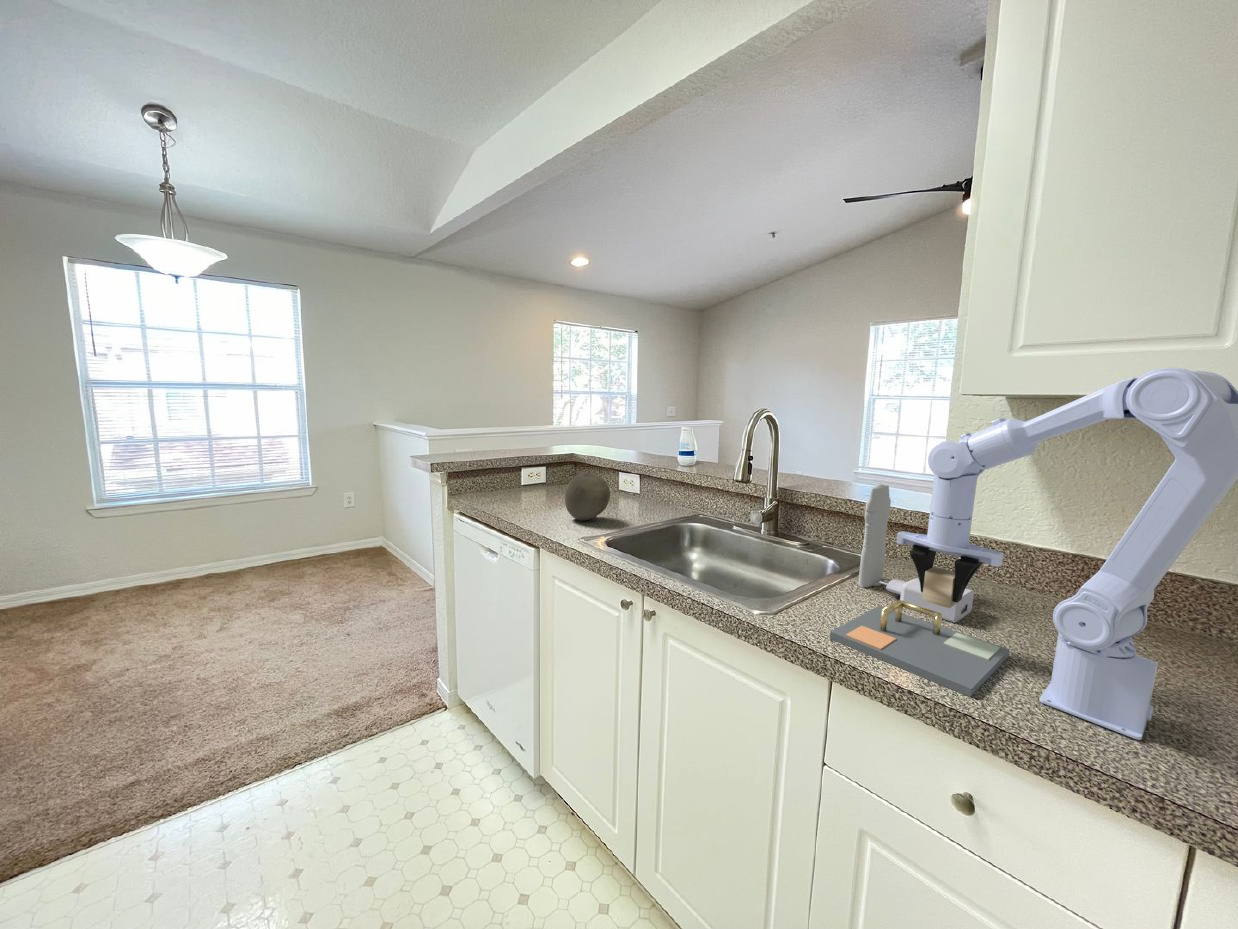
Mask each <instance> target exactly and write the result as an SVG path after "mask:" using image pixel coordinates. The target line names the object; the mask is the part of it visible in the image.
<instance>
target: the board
mask: <svg viewBox="0 0 1238 929" xmlns="http://www.w3.org/2000/svg"><path fill="white" fill-rule="evenodd" d="M884 608H886V607H884V606H882V605H877V606H876V607H874V608H873V609H870V610H868V611H866V612H865V613H862V614H861V615H859V616H857V617H856V618H853V619H852V620H850V621H848V622H846V623H844V624H842V625H841V626H839V627H837V628H835V629H833V630H831V631H830V632H829V640H832V641H835V642H837V643H840V644H842V645H844V646H847V647H849V648H851V649H853V650H857V651H859V652H862V653H864V654H866V655H868V656H870V657H873V658H874V659H878V660H881V661H883V662H886V663H887V664H890V665H891V666H894V667H897V668H899V669H902V670H903V671H904V670H905V671H907V672H909V673H911V674H914V675H917V676H919V677H920V678H923V679H926V680H928V681H931V682H934V683H935V684H938V685H940V686H943V687H945V688H948V689H950V690H952V691H955V692H957V693H960V694H962V695H964V696H967V697H969V698H971V697H972V696H973V695H974V694H975V693H976V692H977V691H978V690H979V689H980V688H981V687H982V685H983V684H984V683H985V682H986V681H987V680H988V679H990V677H991V676H992V675H993V674H994V672H996V671H997V669H998V668H1000V666H1002V664H1003V663H1005V661H1006V660H1007V659H1008V658H1009V657H1010V648H1008V647H1007V648H1006V647H1004V646H1002V645H998V644H996V643H995V644H994V643H993V642H990V641H986V640H984V639H980V638H977V637H975V636H971V635H968V634H965V633H963V632H960V631H957V630H953V629H950V628H948V627H944V626H942V625H941V629H940V635H939V636H937V635H934V634H933V627H934V622H933V623H932V622H930V621H926V620H923V619H922V618H921V619H920V618H917V617H915V616H911V615H908V614H906V613H903V612H902V621H901V622H897V621H895V615H896V610H894V611H892V612H890V613H888V620H887V629H886V631H885V632H884V631H881V630H880V621H881V612H882V609H884Z"/></svg>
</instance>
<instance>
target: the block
mask: <svg viewBox="0 0 1238 929" xmlns="http://www.w3.org/2000/svg"><path fill="white" fill-rule="evenodd" d="M954 584H955V570H954V571H953V570H950V569H946V568H942V567H938V566H933V568H931V569H929V570H927V571H925V578H924V587H923V595H922V600H923V601H927V602H930V603H933V604H936V605H940V606H943V607H946V608H951V607H952V606H954V605H955V604H957V602H953V601H952V596H953V589H954Z"/></svg>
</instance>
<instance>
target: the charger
mask: <svg viewBox="0 0 1238 929" xmlns="http://www.w3.org/2000/svg"><path fill="white" fill-rule="evenodd" d="M880 583H881V585H884V586H885V589H886V591H888V592H891V593H894V594H897V595H900V598H899V600H901V601H905V602H908V603H911V604H914V605H917V606H920V607H923V608H927V609H930V610H933V611H936V612H939V613H941V614H942V620H944V621H948V622H950V623H954V624H955V623H957V622H958V621H960V620H961V619H963V618H964V617H966V616H967V615H969V614H970V613H971V612H972V609H973V604H974V603H973V602H974V597H975V595H974V594H975V591H974V590H972V589H968V588H967V587H966V588H965V591H964V593H963V596H962V599H961V600H960V601H959V602H958V603H957V604H955V605H954V606H952V607H951V608H946V607H943V606H940V605H936V604H933V603H930V602H927V601H923V600H922V595H923V592H921V587H920V581H919V576H918V577H914V578H912V579H910V580H908V581H905V580H901V579H898V578H894V579H892V580H888V579H883V580H882V581H880Z"/></svg>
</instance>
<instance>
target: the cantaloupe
mask: <svg viewBox="0 0 1238 929" xmlns="http://www.w3.org/2000/svg"><path fill="white" fill-rule="evenodd" d="M610 497H611V491H610V488H609V485H608V482H606V481H605V479H604V478H602V477H601V476H600V475H598V474H595V473H592V472H584V473H579V474H577V475H575V476H574V477H573V478H572V479H570V481H569V482H568V484H567V486H566V488H565V491H564V503H565V509H566V511H567V512H568V513H569V515H570V516H571V517H572V518H573V519H576V520H578V521H584V522H585V521H589V520H592V519H595V518H597V517H598V516H599V515H601V514H602V513H603V512H604V511H605V510H606V508H607V506H608V505H609V503H610V499H611V498H610Z"/></svg>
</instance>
